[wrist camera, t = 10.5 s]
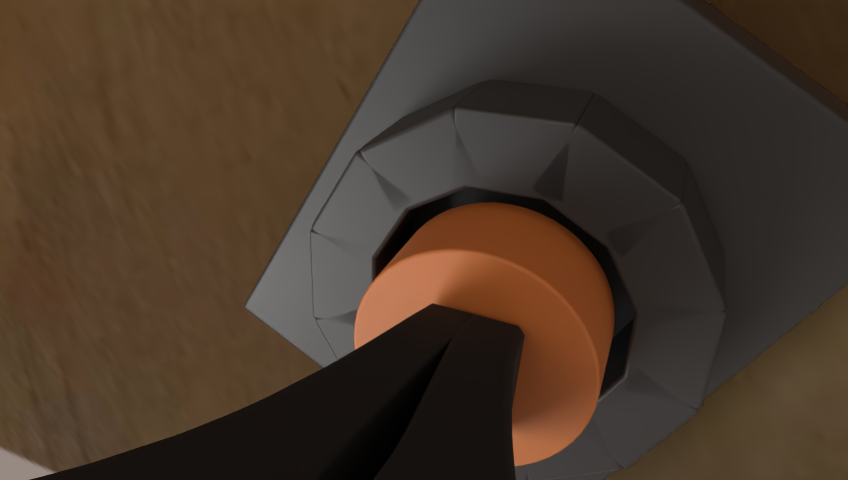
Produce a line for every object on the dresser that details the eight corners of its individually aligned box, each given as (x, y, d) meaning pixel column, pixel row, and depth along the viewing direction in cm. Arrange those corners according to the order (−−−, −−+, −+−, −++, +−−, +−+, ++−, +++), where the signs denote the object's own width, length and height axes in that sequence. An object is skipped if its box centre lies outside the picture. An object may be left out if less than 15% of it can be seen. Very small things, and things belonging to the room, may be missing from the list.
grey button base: (552, 480, 17) (518, 606, 14) (281, 272, 17) (190, 352, 14) (925, 161, 12) (997, 256, 9) (523, -134, 12) (459, -143, 9)
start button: (526, 434, 13) (500, 507, 11) (361, 308, 13) (313, 363, 11) (666, 301, 11) (659, 368, 9) (471, 154, 11) (431, 196, 9)
